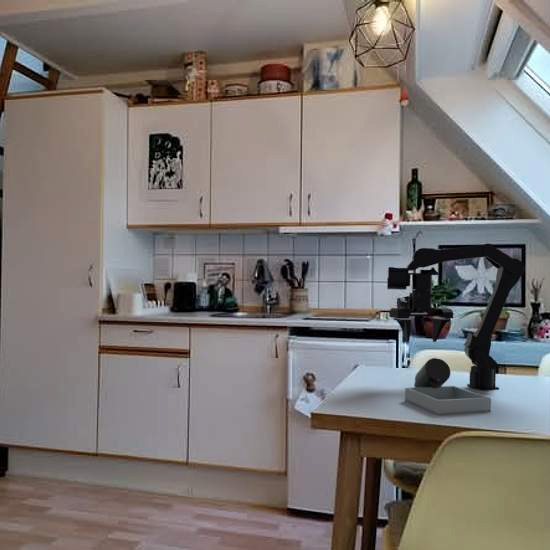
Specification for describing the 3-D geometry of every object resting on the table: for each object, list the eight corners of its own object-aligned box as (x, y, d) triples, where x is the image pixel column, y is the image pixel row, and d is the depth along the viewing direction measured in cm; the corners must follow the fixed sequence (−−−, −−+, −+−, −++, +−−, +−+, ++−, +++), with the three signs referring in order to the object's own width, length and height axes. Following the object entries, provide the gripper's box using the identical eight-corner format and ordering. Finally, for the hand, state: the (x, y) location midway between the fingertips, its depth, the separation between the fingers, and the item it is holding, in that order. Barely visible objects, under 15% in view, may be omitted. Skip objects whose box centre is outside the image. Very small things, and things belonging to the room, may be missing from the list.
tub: (453, 398, 139) (454, 385, 139) (490, 412, 125) (490, 398, 125) (405, 401, 135) (405, 387, 135) (437, 415, 121) (437, 400, 121)
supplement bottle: (453, 362, 136) (435, 379, 146) (428, 353, 137) (412, 371, 147) (449, 385, 132) (431, 401, 142) (423, 376, 133) (408, 392, 143)
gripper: (433, 289, 167) (432, 338, 167) (381, 289, 162) (380, 339, 161) (454, 290, 156) (454, 342, 156) (399, 290, 151) (398, 343, 151)
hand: (420, 342), depth 156 cm, fingers open, 9 cm apart
